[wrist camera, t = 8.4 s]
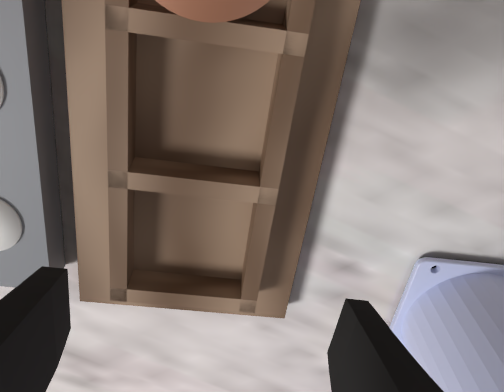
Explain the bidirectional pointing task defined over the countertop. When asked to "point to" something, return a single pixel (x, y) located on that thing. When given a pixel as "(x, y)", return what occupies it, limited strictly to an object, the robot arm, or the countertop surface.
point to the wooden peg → (212, 9)
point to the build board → (198, 148)
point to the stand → (27, 147)
